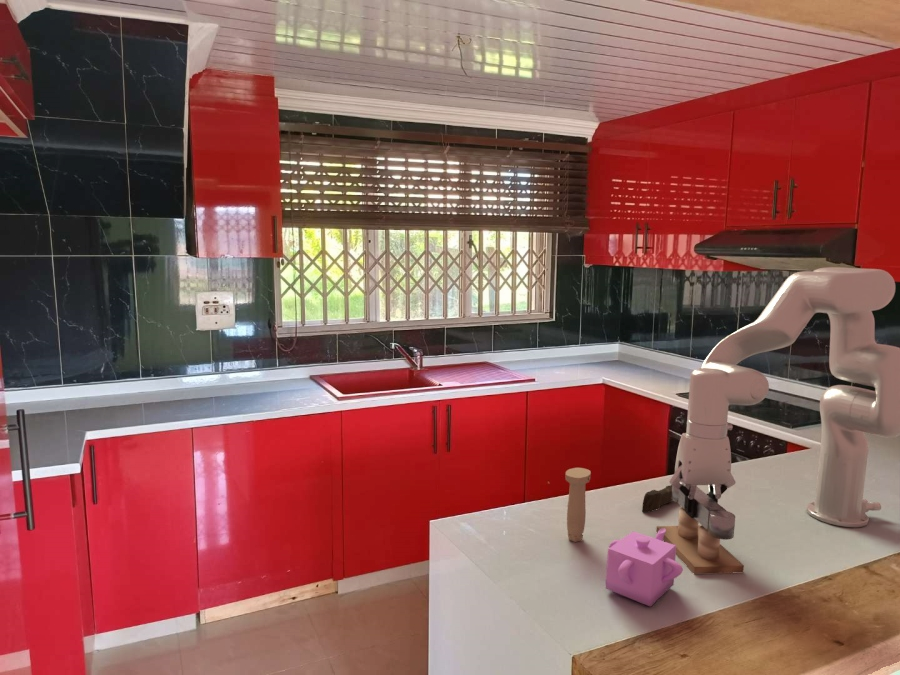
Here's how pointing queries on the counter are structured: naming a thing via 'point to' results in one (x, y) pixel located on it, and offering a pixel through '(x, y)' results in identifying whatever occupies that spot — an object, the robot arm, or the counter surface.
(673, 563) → the teapot
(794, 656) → the counter surface
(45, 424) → the counter surface
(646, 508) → the dark fuzzy dog bone
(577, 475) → the handle
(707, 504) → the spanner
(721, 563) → the tool rest
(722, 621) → the counter surface
